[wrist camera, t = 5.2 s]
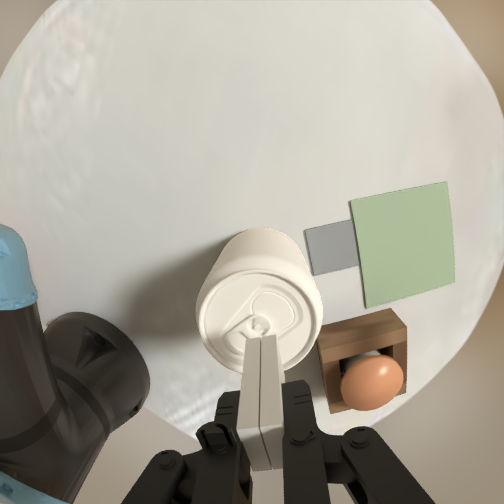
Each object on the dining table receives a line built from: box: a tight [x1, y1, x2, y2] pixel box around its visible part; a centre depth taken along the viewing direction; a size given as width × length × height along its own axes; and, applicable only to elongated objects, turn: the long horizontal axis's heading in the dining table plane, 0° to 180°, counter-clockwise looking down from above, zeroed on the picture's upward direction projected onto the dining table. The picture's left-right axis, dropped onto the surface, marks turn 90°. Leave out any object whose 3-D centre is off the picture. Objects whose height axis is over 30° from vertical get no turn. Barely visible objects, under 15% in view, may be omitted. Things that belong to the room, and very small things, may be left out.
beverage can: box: [195, 228, 323, 374], centre depth 24 cm, size 8×8×12 cm
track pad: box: [305, 220, 359, 276], centre depth 29 cm, size 4×4×1 cm
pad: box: [350, 182, 455, 308], centre depth 28 cm, size 11×11×1 cm
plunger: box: [340, 349, 403, 411], centre depth 28 cm, size 6×6×6 cm
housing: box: [316, 308, 407, 414], centre depth 29 cm, size 8×8×4 cm
